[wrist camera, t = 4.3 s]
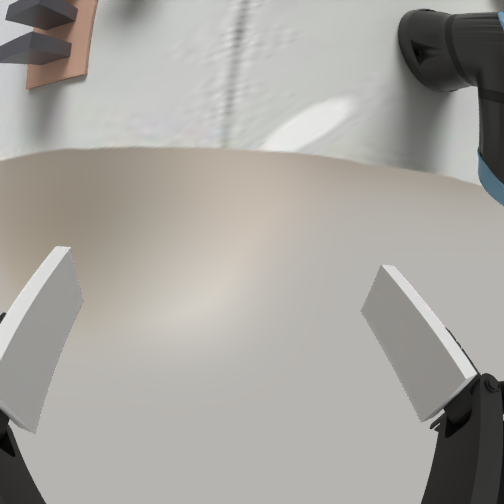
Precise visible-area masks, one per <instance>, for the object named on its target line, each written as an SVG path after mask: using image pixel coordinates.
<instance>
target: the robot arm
mask: <svg viewBox="0 0 504 504" xmlns="http://www.w3.org/2000/svg"><path fill="white" fill-rule="evenodd" d="M399 42H400V47H401V50H402V53H403V56H404V58H405V61H406V63H407V65H408V66H409V68H410V70H411V71H412V73H413V74H414V75H415V77H416V78H417V79H418V80H419V81H420V82H421V83H422V84H424V85H425V86H426V87H428V88H430V89H432V90H435V91H441V92H453V91H456V90H458V89H461V88H465V87H470V86H476V87H478V97H479V98H478V100H479V147H478V157H479V164H478V175H479V179H480V182H481V184H482V185H483V187H484V189H485V190H486V191H487V192H488V193H489V194H490V195H491V196H492V197H493V198H494V199H495V200H496V201H497V202H499V203H500V204H502V205H503V206H504V12H487V13H466V14H454V15H451V14H448V13H443V12H436V11H434V10H430V9H418V10H413V11H410V12H408V13H406V14H405V15H404V16H403V18H402V19H401V22H400V25H399ZM83 302H84V300H83V297H82V293H81V289H80V285H79V281H78V278H77V273H76V269H75V265H74V260H73V256H72V250H71V247H60V246H56V247H55V248H54V249H53V250H52V252H51V253H50V254H49V255H48V257H47V258H46V259H45V260H44V262H43V263H42V264H41V265H40V267H39V268H38V269H37V271H36V272H35V273H34V275H33V276H32V277H31V279H30V280H29V281H28V283H27V284H26V286H25V287H24V288H23V290H22V292H21V293H20V294H19V296H18V297H17V299H16V300H15V301H14V303H13V305H12V306H11V308H10V309H9V311H8V312H7V313H2V314H1V315H0V504H46V503H45V501H44V499H43V498H42V496H41V494H40V492H39V491H38V489H37V487H36V485H35V483H34V481H33V479H32V477H31V475H30V473H29V471H28V469H27V467H26V465H25V462H24V460H23V457H22V455H21V453H20V451H19V448H18V445H17V443H16V440H15V437H14V435H13V432H12V430H11V428H10V426H9V425H8V422H9V419H11V420H12V421H13V422H14V423H15V424H16V425H17V426H18V427H20V428H23V429H25V430H27V431H29V432H32V433H34V434H35V433H36V429H37V425H38V422H39V418H40V414H41V410H42V407H43V403H44V400H45V397H46V394H47V391H48V388H49V385H50V382H51V379H52V376H53V373H54V370H55V368H56V365H57V362H58V359H59V357H60V354H61V352H62V349H63V347H64V344H65V342H66V339H67V337H68V335H69V332H70V330H71V328H72V325H73V323H74V321H75V319H76V316H77V314H78V312H79V310H80V308H81V306H82V304H83ZM361 312H362V314H363V316H364V317H365V319H366V320H367V322H368V324H369V326H370V327H371V329H372V331H373V333H374V334H375V336H376V338H377V340H378V341H379V343H380V345H381V347H382V349H383V350H384V352H385V354H386V356H387V357H388V359H389V361H390V363H391V365H392V367H393V368H394V370H395V372H396V374H397V376H398V378H399V380H400V381H401V383H402V385H403V387H404V389H405V391H406V393H407V395H408V397H409V399H410V401H411V402H412V405H413V407H414V409H415V411H416V413H417V415H418V417H419V419H420V421H421V422H423V421H426V420H428V419H430V418H432V417H434V416H435V415H436V414H438V413H439V412H440V411H441V410H442V409H444V411H445V413H443V414H442V415H441V416H440V417H439V418H438V419H437V420H435V421H434V422H433V423H432V424H431V426H430V429H432V428H434V427H435V426H436V425H437V424H439V423H440V425H438V426H437V427H436V428H435V431H438V432H439V433H438V439H437V444H436V450H435V454H434V459H433V463H432V467H431V471H430V475H429V479H428V482H427V486H426V489H425V493H424V496H423V499H422V502H421V504H504V421H503V414H504V381H500V382H498V381H497V380H496V379H495V377H494V376H492V375H490V374H487V373H485V374H482V376H481V375H480V373H479V372H478V371H477V369H476V368H475V366H474V365H473V363H472V362H471V360H470V359H469V357H468V356H467V354H466V353H465V351H464V350H463V349H461V346H460V344H459V343H458V342H456V339H455V338H454V336H453V335H452V333H451V332H450V331H449V330H448V329H447V328H446V327H444V326H443V324H442V323H441V322H440V320H439V319H438V318H437V316H436V315H435V314H434V313H433V312H432V310H431V309H430V308H429V306H428V305H427V304H426V303H425V302H424V300H423V299H422V298H421V297H420V295H419V294H418V293H417V292H416V291H415V289H414V288H413V287H412V286H411V285H410V284H409V282H408V281H407V280H406V279H405V278H404V277H403V275H402V274H401V273H400V272H399V271H398V270H397V269H396V268H395V266H394V265H381V267H380V269H379V271H378V274H377V276H376V279H375V281H374V283H373V285H372V288H371V290H370V292H369V294H368V297H367V299H366V301H365V303H364V305H363V307H362V309H361Z"/></svg>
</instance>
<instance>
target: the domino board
mask: <svg viewBox="0 0 504 504" xmlns="http://www.w3.org/2000/svg"><path fill="white" fill-rule="evenodd" d="M64 1H66V2H68V3H69V4H71V5H73V6H74V7H76V8H78V12H77V17H76V21H74V22H70V23H67V24H64V25H61V26H58V27H55V28H52V29H49V30H46V31H45V30H42V29H39V28H35V27H34V30H33V32H36V33H40V34H44V35H47V36H51V37H54V38H57V39H60V40H63V41H67V42H70V43H72V46H71V54H70V57H67V58H63V59H60V60H56V61H53V62H50V63H46V64H43V65H31V64H28V71H27V84H26V89H32V88H35V87H38V86H41V85H45V84H48V83H52V82H56V81H59V80H63V79H68V78H72V77H76V76H81V75H86V74H87V68H88V58H89V49H90V42H91V35H92V29H93V23H94V18H95V13H96V8H97V3H98V0H64Z"/></svg>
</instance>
